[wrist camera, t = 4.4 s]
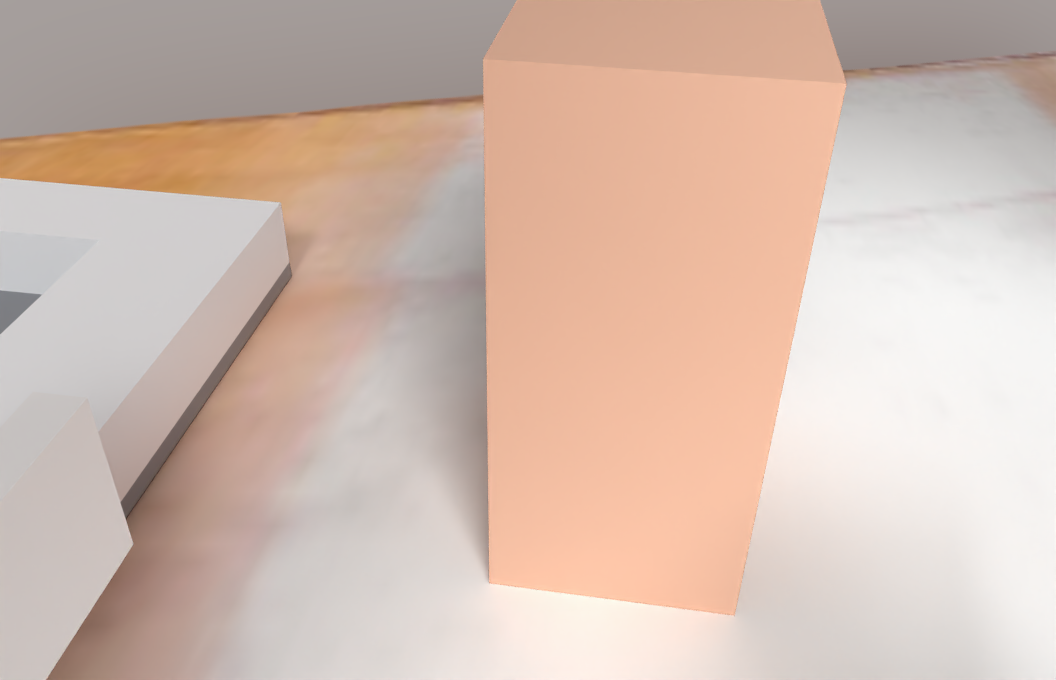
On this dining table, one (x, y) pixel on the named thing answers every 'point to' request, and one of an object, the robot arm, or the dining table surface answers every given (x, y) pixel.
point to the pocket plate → (131, 306)
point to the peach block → (645, 282)
